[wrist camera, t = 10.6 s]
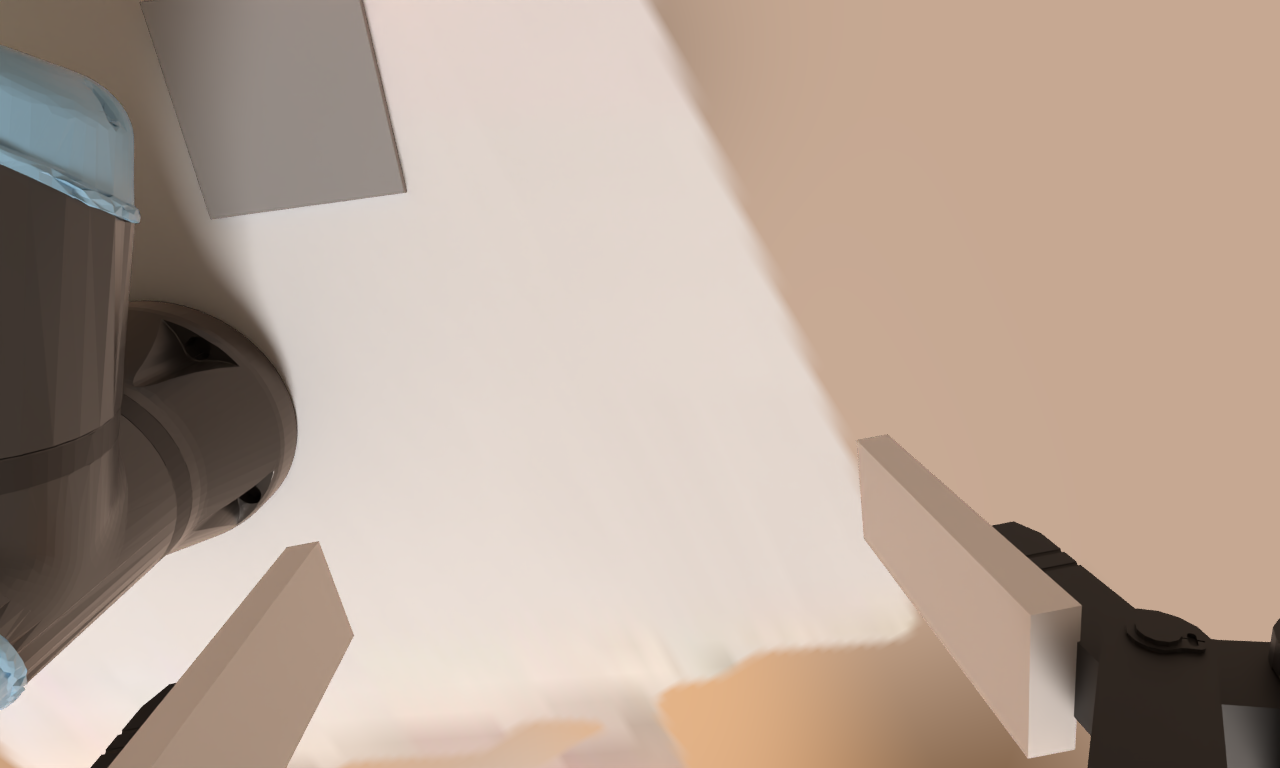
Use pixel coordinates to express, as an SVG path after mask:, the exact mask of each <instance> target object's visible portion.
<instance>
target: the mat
mask: <svg viewBox="0 0 1280 768" xmlns="http://www.w3.org/2000/svg"><path fill="white" fill-rule="evenodd" d="M140 5H141V8H142V11H143V14H144V17H145V20H146V23H147V26H148V29H149V32H150V35H151V38H152V42H153V45H154V48H155V51H156V54H157V57H158V60H159V63H160V66H161V69H162V72H163V75H164V78H165V81H166V84H167V87H168V90H169V93H170V97H171V100H172V103H173V106H174V109H175V112H176V115H177V118H178V121H179V124H180V127H181V130H182V133H183V136H184V139H185V142H186V145H187V148H188V152H189V155H190V158H191V161H192V164H193V167H194V170H195V173H196V176H197V179H198V182H199V185H200V188H201V191H202V194H203V197H204V200H205V203H206V207H207V210H208V213H209V216H210V219H216V218H224V217H231V216H238V215H246V214H253V213H260V212H268V211H275V210H282V209H289V208H297V207H304V206H311V205H319V204H326V203H333V202H341V201H348V200H355V199H362V198H370V197H377V196H384V195H392V194H399V193H406V192H407V191H406V186H405V182H404V178H403V174H402V169H401V165H400V161H399V156H398V152H397V148H396V143H395V139H394V135H393V131H392V126H391V122H390V118H389V113H388V109H387V105H386V100H385V96H384V92H383V88H382V83H381V79H380V75H379V70H378V66H377V62H376V58H375V53H374V49H373V45H372V40H371V36H370V32H369V27H368V23H367V19H366V15H365V10H364V6H363V2H362V0H153V1H145V2H140Z"/></svg>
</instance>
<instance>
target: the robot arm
mask: <svg viewBox="0 0 1280 768" xmlns="http://www.w3.org/2000/svg"><path fill="white" fill-rule="evenodd" d="M135 223H140V211H139V210H138V209H137V208H136V207H135V205H134V133H133V128H132V124H131V122H130V119H129V117H128V115H127V113H126V111H125V110H124V108H123V107H122V105H121V104H120V103H119V101H118V100H117V99H116V98H115V97H114V96H113V95H112V94H111V93H110V92H109V91H108V90H107V89H105V88H104V87H103V86H101V85H100V84H98V83H97V82H95V81H94V80H92V79H90V78H88V77H86V76H84V75H82V74H79V73H77V72H75V71H72V70H69V69H67V68H64V67H61V66H59V65H56V64H53V63H50V62H48V61H45V60H42V59H39V58H37V57H34V56H31V55H28V54H26V53H23V52H20V51H17V50H15V49H12V48H9V47H6V46H3V45H1V44H0V710H2V709H4V708H6V707H8V706H9V705H10V704H11V703H13V702H14V701H15V700H16V699H17V698H18V697H19V696H20V695H21V693H22V692H23V691H24V690H25V688H24V687H23V686H25V685H26V684H27V683H28V682H29V681H30V680H31V679H32V678H33V677H34V676H35V675H36V674H37V673H39V672H40V671H41V670H42V669H43V668H44V667H45V666H46V665H47V664H48V663H49V662H51V661H52V660H53V659H54V658H55V657H56V656H57V655H58V654H59V653H60V652H61V651H62V650H64V649H65V648H66V647H67V646H68V645H69V644H70V643H71V642H72V641H73V640H74V639H75V638H77V637H78V636H79V635H80V634H81V633H82V632H83V631H84V630H85V629H86V628H87V627H88V626H90V625H91V624H92V623H93V622H94V621H95V620H96V619H97V618H98V617H99V616H100V615H102V614H103V613H104V612H105V611H106V610H107V609H108V608H109V607H110V606H111V605H112V604H113V603H115V602H116V601H117V600H118V599H119V598H120V597H121V596H122V595H123V594H124V593H125V592H126V591H128V590H129V589H130V588H131V587H132V586H133V585H134V584H135V583H136V582H137V581H138V580H140V579H141V578H142V577H143V576H144V575H145V574H146V573H147V572H148V571H149V570H150V569H151V568H152V567H154V565H155V564H157V563H158V562H159V561H160V560H161V559H162V558H163V557H164V556H166V555H168V554H171V553H173V552H176V551H179V550H181V549H184V548H187V547H189V546H192V545H194V544H197V543H200V542H202V541H205V540H208V539H210V538H213V537H216V536H218V535H220V534H223V533H225V532H227V531H229V530H231V529H233V528H235V527H236V526H238V525H239V524H241V523H242V522H244V521H245V520H247V519H248V518H249V517H251V516H252V515H253V514H254V513H255V512H256V511H257V510H258V509H259V508H260V507H261V506H262V505H263V504H264V503H265V502H266V501H267V500H268V499H269V498H270V497H271V496H272V495H273V494H274V493H275V492H276V491H277V489H278V488H279V487H280V485H281V484H282V483H283V481H284V479H285V478H286V476H287V474H288V472H289V470H290V467H291V465H292V462H293V458H294V454H295V449H296V441H297V427H296V418H295V413H294V409H293V405H292V402H291V399H290V396H289V393H288V391H287V389H286V387H285V385H284V383H283V381H282V379H281V377H280V376H279V374H278V373H277V371H276V369H275V368H274V367H273V365H272V364H271V363H270V361H269V360H268V359H267V358H266V357H265V355H264V354H263V353H262V352H261V351H260V350H259V349H258V348H257V347H256V346H255V345H254V344H253V343H252V342H250V341H249V340H248V339H247V338H246V337H244V336H243V335H242V334H241V333H239V332H238V331H236V330H235V329H233V328H232V327H230V326H229V325H227V324H225V323H224V322H222V321H220V320H218V319H216V318H214V317H212V316H210V315H208V314H205V313H203V312H200V311H198V310H195V309H192V308H188V307H185V306H181V305H177V304H172V303H166V302H157V301H132V302H129V292H130V279H131V266H132V253H133V240H134V227H135ZM857 451H858V465H859V479H860V493H861V506H862V520H863V533H864V539H865V541H866V542H867V543H868V545H869V546H870V547H871V549H872V550H873V551H874V553H875V554H876V555H877V557H878V558H879V559H880V561H881V562H882V563H883V565H884V566H885V567H886V569H887V570H888V571H889V573H890V574H891V576H892V577H893V578H894V580H895V581H896V582H897V584H898V585H899V586H900V588H901V589H902V590H903V592H904V593H905V594H906V596H907V597H908V598H909V600H910V601H911V602H912V604H913V605H914V606H915V608H916V609H917V610H918V612H919V613H920V614H921V616H922V617H923V618H924V619H925V621H926V622H927V624H928V625H929V626H930V628H931V629H932V630H933V632H934V633H935V634H936V636H937V637H938V638H939V640H940V641H941V642H942V644H943V645H944V647H945V648H946V649H947V651H948V652H949V653H950V654H951V656H952V657H953V659H954V660H955V661H956V663H957V664H958V665H959V667H960V668H961V669H962V671H963V672H964V673H965V675H966V676H967V677H968V679H969V680H970V681H971V683H972V684H973V685H974V687H975V688H976V689H977V691H978V692H979V693H980V695H981V696H982V697H983V699H984V700H985V701H986V703H987V704H988V706H989V707H990V708H991V710H992V711H993V712H994V714H995V715H996V716H997V718H998V719H999V720H1000V722H1001V723H1002V724H1003V725H1004V727H1005V728H1006V730H1007V731H1008V732H1009V734H1010V735H1011V736H1012V737H1013V739H1014V740H1015V742H1016V743H1017V744H1018V746H1019V747H1020V748H1021V750H1022V751H1023V752H1024V754H1025V755H1026V756H1027V758H1033V757H1038V756H1044V755H1049V754H1054V753H1059V752H1064V751H1069V750H1074V749H1075V739H1076V719H1077V721H1078V722H1079V723H1080V724H1081V725H1082V726H1083V727H1084V728H1085V730H1086V731H1087V732H1088V733H1089V734H1090V735H1091V741H1090V751H1089V760H1088V768H1280V619H1279V620H1278V621H1277V623H1276V624H1275V625H1274V627H1273V632H1272V637H1271V642H1251V641H1228V640H1214V639H1210V638H1209V637H1208V636H1207V635H1206V634H1205V633H1203V632H1202V631H1201V630H1200V629H1199V628H1198V627H1196V626H1194V625H1192V624H1190V623H1188V622H1187V621H1185V620H1183V619H1181V618H1179V617H1176V616H1172V615H1169V614H1166V613H1162V612H1159V611H1153V610H1145V609H1135V608H1134V607H1132V606H1131V605H1130V604H1129V603H1127V602H1126V601H1125V600H1124V599H1122V598H1121V597H1120V596H1119V595H1117V594H1116V593H1115V592H1114V591H1112V590H1111V589H1110V588H1109V587H1107V586H1106V585H1105V584H1104V583H1102V582H1101V581H1100V580H1099V579H1097V578H1096V577H1095V576H1094V575H1092V574H1091V573H1090V572H1089V571H1087V570H1086V569H1085V568H1084V567H1082V566H1081V565H1077V563H1076V561H1075V560H1074V559H1072V558H1071V557H1070V556H1069V555H1067V554H1066V553H1065V552H1061V550H1060V548H1059V547H1057V546H1056V545H1055V544H1054V543H1052V542H1051V541H1050V540H1049V539H1047V538H1046V537H1045V536H1044V535H1042V534H1041V533H1039V532H1037V531H1035V530H1032V529H1030V528H1028V527H1025V526H1023V525H1020V524H1018V523H1016V522H1009V523H1004V524H999V525H993V526H991V525H990V524H989V523H988V522H987V521H985V520H984V519H983V518H982V517H981V516H979V514H977V513H976V512H975V511H974V510H973V509H972V508H971V507H970V506H968V505H967V504H966V503H965V502H964V501H963V500H962V499H960V498H959V497H958V496H957V495H956V494H955V493H954V492H952V491H951V490H950V489H949V488H948V487H947V486H946V485H944V484H943V483H942V482H941V481H940V480H939V479H938V478H937V477H935V476H934V475H933V474H932V473H931V472H930V471H929V470H928V469H926V468H925V467H924V466H923V465H922V464H921V463H920V462H918V461H917V460H916V459H915V458H914V457H913V456H912V455H911V454H909V453H908V452H907V451H906V450H905V449H904V448H902V447H901V446H900V445H899V444H898V443H897V442H896V441H895V440H893V439H892V438H891V437H890V436H889V435H888V434H887V435H881V436H876V437H871V438H865V439H860V440H857ZM353 636H354V635H353V632H352V629H351V626H350V624H349V621H348V618H347V616H346V613H345V610H344V608H343V605H342V602H341V600H340V597H339V594H338V592H337V589H336V586H335V584H334V581H333V578H332V576H331V573H330V570H329V568H328V565H327V562H326V560H325V557H324V554H323V552H322V549H321V546H320V543H319V541H318V542H312V543H307V544H302V545H297V546H291V547H287V548H286V549H285V550H284V552H283V553H282V554H281V555H280V556H279V558H278V559H277V560H276V561H275V563H274V564H273V565H272V566H271V567H270V569H269V570H268V571H267V572H266V574H265V575H264V576H263V577H262V579H261V580H260V581H259V582H258V583H257V585H256V586H255V587H254V588H253V590H252V591H251V592H250V593H249V595H248V596H247V597H246V598H245V599H244V601H243V602H242V603H241V604H240V606H239V607H238V608H237V609H236V611H235V612H234V613H233V614H232V615H231V617H230V618H229V619H228V620H227V622H226V623H225V624H224V625H223V627H222V628H221V629H220V630H219V631H218V633H217V634H216V635H215V636H214V638H213V639H212V640H211V641H210V643H209V644H208V645H207V646H206V647H205V649H204V650H203V651H202V652H201V654H200V655H199V656H198V657H197V659H196V660H195V661H194V662H193V663H192V665H191V666H190V667H189V668H188V670H187V671H186V672H185V673H184V675H183V676H182V677H181V678H180V679H179V681H178V682H177V683H174V684H169V685H168V686H167V687H166V688H164V689H163V690H162V691H161V692H160V693H158V694H157V695H156V696H155V697H153V698H152V699H151V700H150V701H148V702H147V703H146V704H145V705H143V706H142V707H141V708H140V710H139V711H138V712H137V713H136V714H135V716H134V717H133V718H132V719H131V720H130V721H129V723H128V724H127V725H126V726H125V727H124V729H123V730H122V734H121V735H118V736H117V737H116V738H115V739H114V740H113V742H112V743H111V744H110V745H109V746H108V748H107V749H106V753H105V754H104V755H101V756H100V757H99V758H98V759H97V761H96V762H95V763H94V764H93V765H92V767H91V768H286V767H287V765H288V763H289V761H290V759H291V757H292V755H293V753H294V751H295V749H296V747H297V745H298V744H299V742H300V740H301V738H302V736H303V734H304V732H305V730H306V728H307V726H308V724H309V722H310V720H311V718H312V716H313V714H314V712H315V710H316V708H317V707H318V705H319V703H320V701H321V699H322V697H323V695H324V693H325V691H326V689H327V687H328V685H329V683H330V681H331V679H332V677H333V675H334V673H335V671H336V669H337V668H338V666H339V664H340V662H341V660H342V658H343V656H344V654H345V652H346V650H347V648H348V646H349V644H350V642H351V640H352V638H353Z"/></svg>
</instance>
